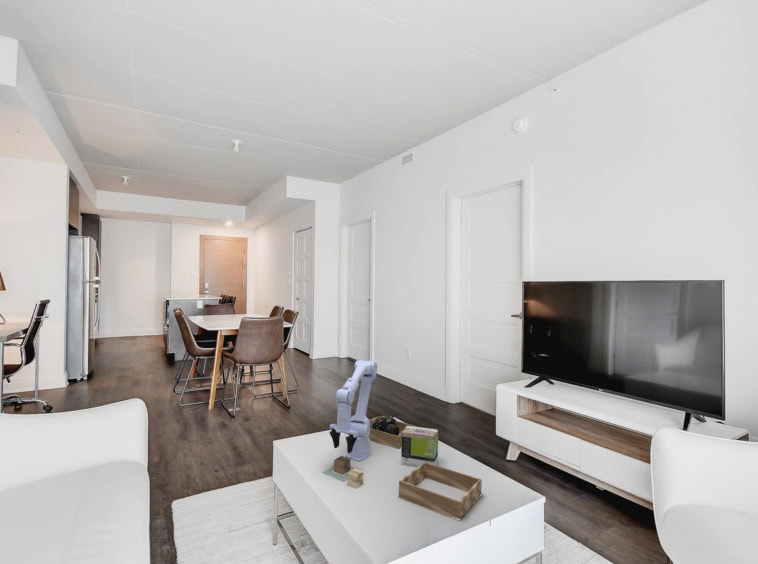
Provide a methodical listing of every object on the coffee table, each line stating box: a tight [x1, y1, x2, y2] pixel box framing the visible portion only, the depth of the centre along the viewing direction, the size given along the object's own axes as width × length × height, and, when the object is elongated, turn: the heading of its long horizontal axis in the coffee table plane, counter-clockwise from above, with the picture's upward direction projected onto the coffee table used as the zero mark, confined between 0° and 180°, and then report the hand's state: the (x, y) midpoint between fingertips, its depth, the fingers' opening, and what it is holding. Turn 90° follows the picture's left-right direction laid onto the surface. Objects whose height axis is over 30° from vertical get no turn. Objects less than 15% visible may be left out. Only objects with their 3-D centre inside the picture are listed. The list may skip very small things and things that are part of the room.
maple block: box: [346, 468, 364, 489], centre depth 157 cm, size 4×4×5 cm
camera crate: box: [368, 416, 418, 450], centre depth 207 cm, size 19×25×6 cm
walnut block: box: [333, 455, 352, 475], centre depth 167 cm, size 5×5×5 cm
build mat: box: [321, 465, 363, 482], centre depth 167 cm, size 12×12×1 cm
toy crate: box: [398, 462, 483, 519], centre depth 150 cm, size 21×25×6 cm
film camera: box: [372, 415, 400, 436], centre depth 207 cm, size 18×12×10 cm
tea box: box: [400, 425, 439, 468], centre depth 178 cm, size 15×10×15 cm
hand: (343, 449), depth 167 cm, fingers open, 7 cm apart
